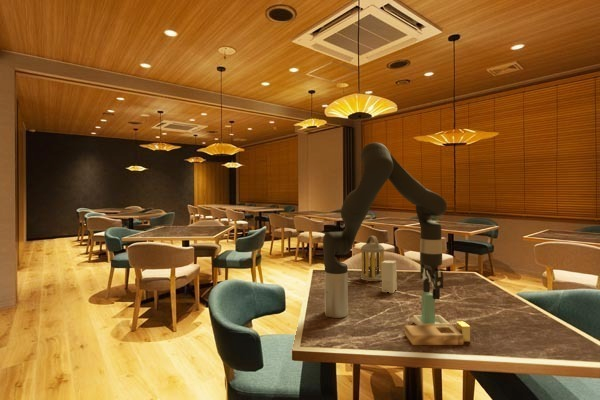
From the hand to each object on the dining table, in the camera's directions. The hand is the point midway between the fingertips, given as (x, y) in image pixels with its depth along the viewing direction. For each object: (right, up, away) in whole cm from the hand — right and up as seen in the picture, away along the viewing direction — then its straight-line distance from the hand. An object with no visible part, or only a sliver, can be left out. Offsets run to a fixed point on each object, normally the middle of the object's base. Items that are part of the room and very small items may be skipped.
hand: (431, 295), depth 117 cm
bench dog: (+6, -11, -11) cm, 17 cm away
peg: (-1, -10, -1) cm, 10 cm away
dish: (0, -11, -1) cm, 11 cm away
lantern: (-6, -11, +68) cm, 70 cm away
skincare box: (-3, -11, +44) cm, 46 cm away
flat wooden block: (-4, -11, -11) cm, 16 cm away
